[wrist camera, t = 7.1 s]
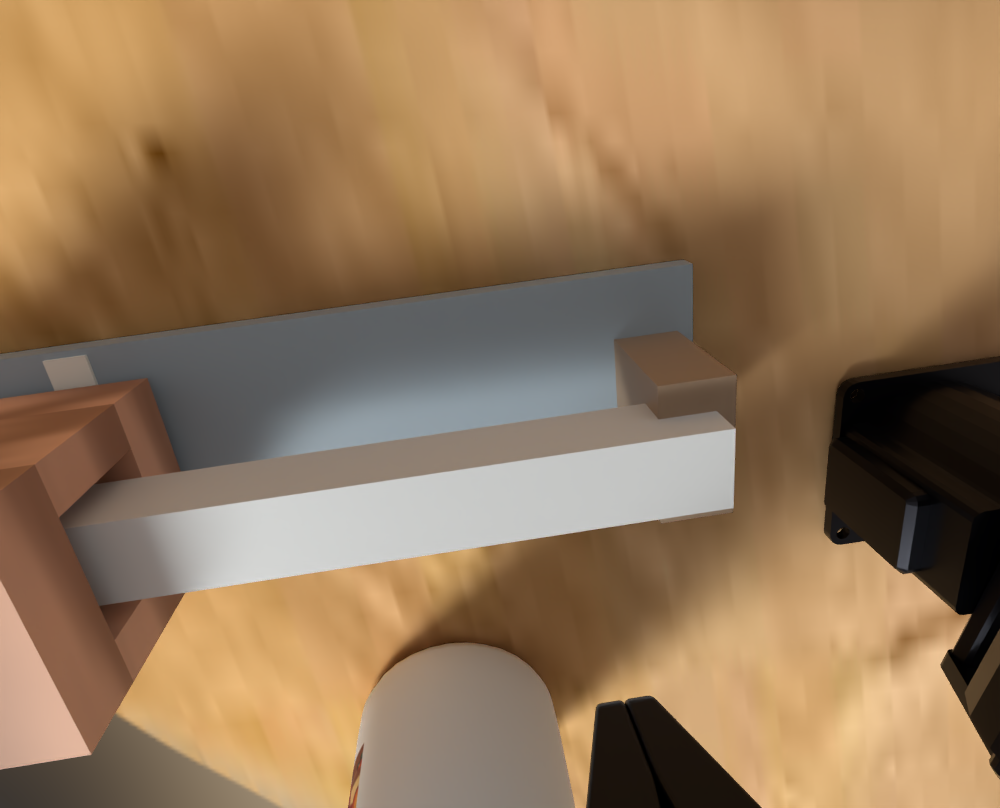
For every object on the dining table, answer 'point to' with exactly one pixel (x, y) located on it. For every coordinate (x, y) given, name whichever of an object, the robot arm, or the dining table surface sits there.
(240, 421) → the rail
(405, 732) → the milk bottle
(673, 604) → the dining table surface
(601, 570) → the dining table surface
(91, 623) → the collar
